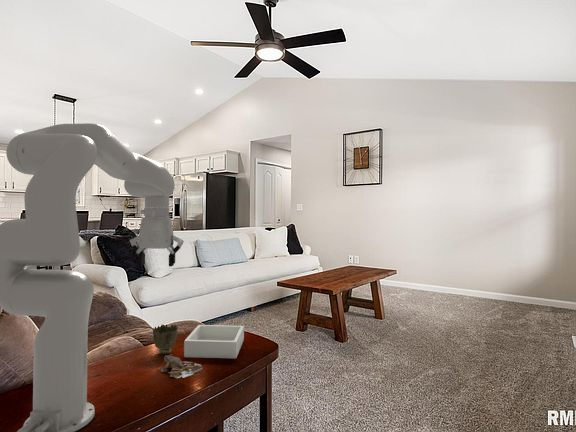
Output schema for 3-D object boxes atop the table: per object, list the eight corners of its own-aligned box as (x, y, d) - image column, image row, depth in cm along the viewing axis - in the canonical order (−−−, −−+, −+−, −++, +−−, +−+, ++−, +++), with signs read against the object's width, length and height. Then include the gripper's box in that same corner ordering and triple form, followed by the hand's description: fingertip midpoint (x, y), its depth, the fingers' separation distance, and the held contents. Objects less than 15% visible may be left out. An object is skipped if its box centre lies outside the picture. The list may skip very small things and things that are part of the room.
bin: (236, 358, 109) (236, 342, 109) (184, 357, 109) (184, 340, 109) (243, 340, 125) (244, 325, 125) (198, 339, 125) (198, 324, 125)
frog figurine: (146, 375, 98) (146, 361, 98) (178, 359, 109) (178, 347, 109) (177, 384, 93) (177, 370, 93) (208, 367, 103) (208, 354, 103)
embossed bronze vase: (181, 349, 116) (181, 324, 116) (171, 358, 109) (171, 331, 109) (158, 348, 117) (159, 323, 117) (147, 356, 109) (148, 330, 109)
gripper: (125, 213, 113) (125, 267, 114) (179, 214, 113) (179, 267, 114) (135, 213, 121) (135, 263, 121) (186, 213, 121) (186, 264, 121)
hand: (156, 265), depth 117 cm, fingers open, 9 cm apart
